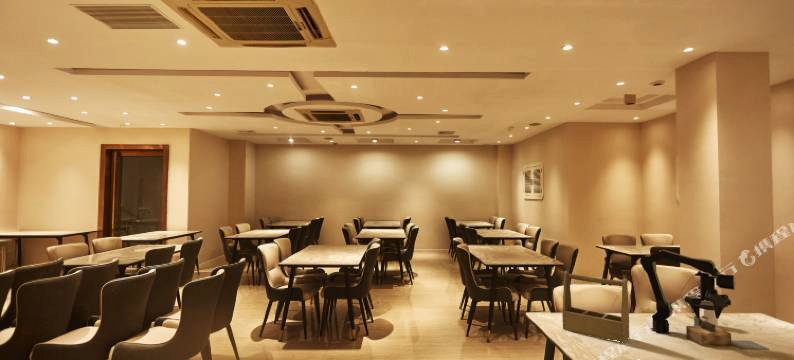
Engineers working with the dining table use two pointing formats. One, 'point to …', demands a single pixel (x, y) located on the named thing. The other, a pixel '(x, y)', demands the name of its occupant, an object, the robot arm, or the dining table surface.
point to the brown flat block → (708, 339)
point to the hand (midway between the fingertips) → (707, 318)
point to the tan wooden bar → (695, 315)
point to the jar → (708, 312)
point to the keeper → (698, 321)
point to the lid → (708, 329)
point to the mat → (747, 345)
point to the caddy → (595, 313)
